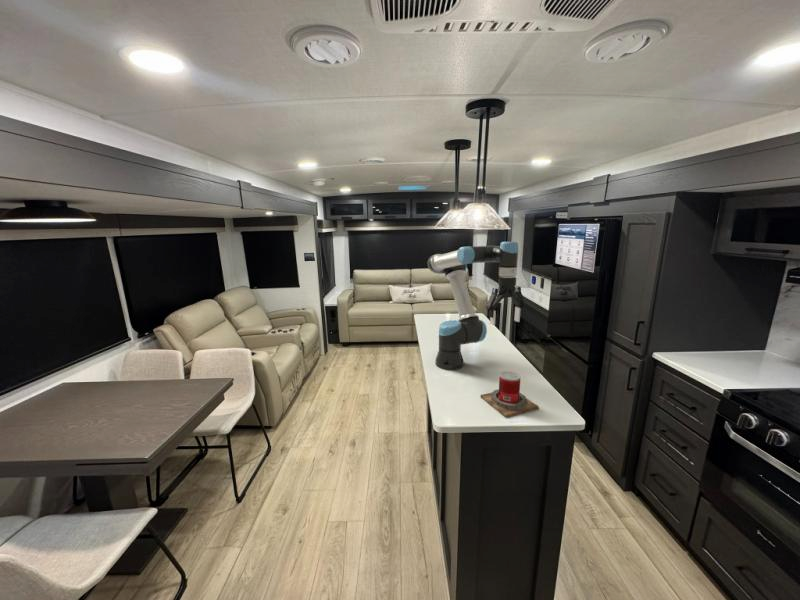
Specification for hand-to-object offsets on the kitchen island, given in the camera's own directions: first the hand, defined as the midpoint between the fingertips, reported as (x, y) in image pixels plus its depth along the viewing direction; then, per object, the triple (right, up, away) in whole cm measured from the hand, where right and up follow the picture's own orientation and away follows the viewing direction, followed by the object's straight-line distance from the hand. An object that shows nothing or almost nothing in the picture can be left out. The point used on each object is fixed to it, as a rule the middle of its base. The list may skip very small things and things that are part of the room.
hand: (504, 322), depth 138 cm
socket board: (-4, -32, -14) cm, 35 cm away
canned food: (-4, -31, -15) cm, 34 cm away
